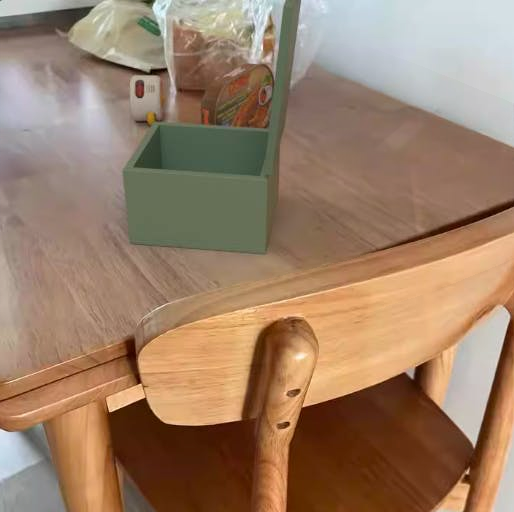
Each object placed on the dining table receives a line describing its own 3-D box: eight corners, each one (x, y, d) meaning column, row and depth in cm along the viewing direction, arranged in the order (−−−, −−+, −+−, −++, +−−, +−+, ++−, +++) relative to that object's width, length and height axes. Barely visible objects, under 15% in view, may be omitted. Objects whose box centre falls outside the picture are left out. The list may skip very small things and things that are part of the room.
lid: (283, 5, 58) (293, 6, 58) (296, -27, 67) (304, -26, 67) (263, 174, 66) (272, 176, 66) (277, 124, 76) (284, 125, 76)
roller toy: (167, 111, 102) (165, 69, 98) (164, 128, 97) (162, 84, 93) (135, 111, 102) (132, 69, 98) (131, 128, 97) (127, 84, 93)
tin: (218, 159, 89) (217, 90, 84) (197, 154, 90) (194, 85, 85) (276, 121, 100) (278, 57, 95) (256, 117, 101) (257, 53, 96)
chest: (129, 243, 73) (122, 170, 68) (158, 188, 83) (153, 121, 78) (265, 254, 71) (267, 180, 67) (278, 197, 81) (280, 129, 77)
